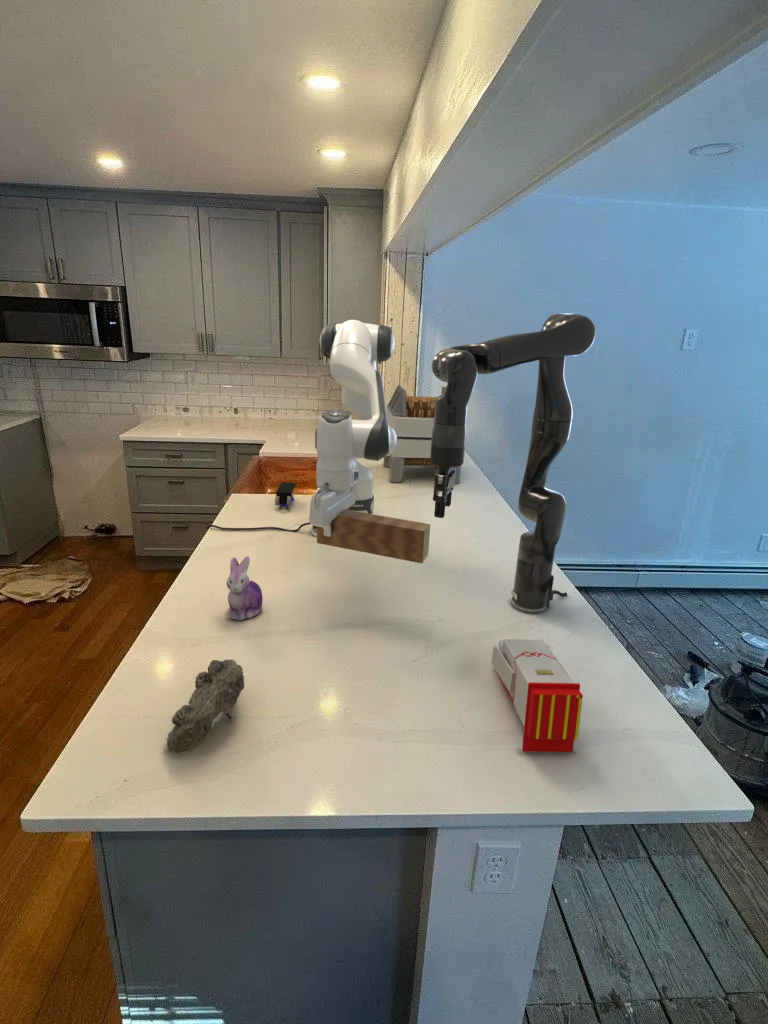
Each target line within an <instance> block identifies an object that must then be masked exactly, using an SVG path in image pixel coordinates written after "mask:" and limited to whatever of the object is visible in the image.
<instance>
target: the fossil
mask: <svg viewBox="0 0 768 1024" xmlns="http://www.w3.org/2000/svg"><path fill="white" fill-rule="evenodd" d="M243 670H244V669H243V667H242V665H240V664H237V662H236V661H235V660H234V659H232V658H231V659H227V658H226V659H224V660H223V661H222V660H217V659H212V660H211V661H210V663H209V665H208V666H207V671H201V672H199V673H198V674H197V675H196V676H195V680H194V684H195V685H194V687H195V689H194V690H193V693H192V694H191V697H190V698H189V700H188V704H184V705H182V706H181V707H180V709H177V710H176V711H175V713H174V715H173V716H172V718H171V723H172V724H173V727H172V730H171V731H170V732H168V734H167V738H166V741H167V742H166V745H167V749H168V750H169V751H173V752H174V753H176V754H178V753H182V752H188V751H189V752H192V751H193V750H195V748H196V747H197V746H199V744H200V743H201V742H203V741H204V740H205V739H206V738H207V737H208V736H209V735H210V734H211V733H212V732H214V730H215V729H217V727H218V726H219V724H220V722H221V721H222V720H223V719H224V718H225V716H226V717H227V719H229V720H233V717H232V715H230V714H229V710H230V709H231V708H234V706H235V704H236V703H237V702H238V699H239V697H240V695H241V693H242V691H243V690H245V689H244V688H245V675H244V671H243Z"/></svg>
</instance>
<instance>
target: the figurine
mask: <svg viewBox="0 0 768 1024" xmlns="http://www.w3.org/2000/svg"><path fill="white" fill-rule="evenodd" d="M250 559H251V558H250V556H248V555H246V556H245V557H244V558H243V559H242V561H240V563H239V561H238V559H237V557H235V556H234V557H231V559H230V565H229V567H230V573H229V575H228V577H227V580H226V587H227V588H228V590H229V592H228V594H227V602H228V606H229V619H232V620H235V621H243V620H245V619H251V618H254V617H255V616H256V615H258V614H260V613H261V612H262V609H263V598H264V597H263V592H262V589H261V586H260V585H259V584H258V583H257V582H255V581H253V580H250V577H249V576H248V574H247V572H248V569H249V566H250V562H251V561H250Z"/></svg>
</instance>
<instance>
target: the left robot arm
mask: <svg viewBox="0 0 768 1024" xmlns="http://www.w3.org/2000/svg"><path fill="white" fill-rule="evenodd" d="M395 340H396V339H395V335H394V333H393V330H392V329H391V327H390V326H388V325H384V324H381V323H380V324H374V323H366V322H362V321H361V320H357V319H348V320H345V321H344V322H342V323H337V322H333V323H328V324H325V326H324V327H323V328H322V330H321V332H320V335H319V347H320V350H321V354H322V355H323V356H324V357H325V358H326V359H327V360H329V371H330V372H329V373H330V375H331V376H332V378H333V379H334V381H335V382H336V383H337V384H338V385H339V386H341V403H342V405H343V407H344V408H345V409H346V410H347V411H346V410H342V409H329V410H326V411H323V412H322V413H320V414H319V417H318V423H317V427H316V428H315V433H314V448H315V450H316V454H317V460H316V461H317V462H316V466H315V467H316V468H315V469H316V472H315V473H316V475H315V476H316V477H315V479H316V480H315V481H316V483H315V484H316V487H317V489H316V490H315V493H313V494H312V496H311V499H310V505H309V506H310V507H309V522H304V523H302V524H300V525H299V527H298V528H296V529H288V528H282V527H278V526H262V527H261V526H260V527H223V526H218V525H215V524H210V525H208V526H206V528H205V529H206V530H208V529H210V528H216V529H219V530H223V531H258V530H278V531H283V532H292V533H293V532H294V533H296V532H299V531H301V528H303V527H305V526H309V525H311V526H312V528H311V530H310V533H311V536H315V537H317V526H319V527H323V529H324V536H328V537H330V536H331V535H332V534H333V528H331V525H330V524H331V522H332V520H333V519H335V518H336V516H337V515H338V514H339V513H341V512H342V511H343V510H350V511H356V512H362V513H368V514H374V513H373V512H374V509H375V496H374V474H373V472H372V471H371V469H369V468H368V467H366V466H365V465H363V464H362V463H360V462H359V461H358V459H364V460H369V461H375V462H378V461H380V460H382V459H384V457H385V456H390V455H391V454H392V453H393V452H394V450H395V449H396V446H397V435H396V433H395V431H394V430H393V428H392V427H390V426H389V425H388V423H387V414H386V412H387V405H386V397H385V390H384V383H383V378H382V376H381V373H380V371H378V367H377V363H378V365H381V364H382V363H383V362H386V361H388V360H389V359H391V357H392V355H393V353H394V350H395V346H396V341H395ZM348 411H349V412H350V413H352V414H353V415H355V416H356V417H357V418H358V419H352V415H351V414H350V413H349V412H348Z"/></svg>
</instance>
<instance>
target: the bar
mask: <svg viewBox="0 0 768 1024" xmlns="http://www.w3.org/2000/svg"><path fill="white" fill-rule="evenodd" d="M330 525H331V528H333V534H332V535H331V536H330V537H328V536H324V529H323V527H319V526H317V536H316V544H319V545H324V546H329V547H330V546H331V547H335V548H340V549H345V550H350V551H355V552H361V553H366V554H371V555H375V556H376V555H377V556H381V557H386V558H391V559H396V560H402V561H407V562H412V563H417V564H423V563H424V562H425V560H426V559H427V558H428V557H429V550H430V549H429V548H430V535H431V524H430V523H426V522H419V521H414V520H408V519H402V518H396V517H391V516H385V515H380V514H379V515H378V514H374V513H373V514H368V513H362V512H356V511H350V510H343V511H342V512H341V513H339V514H338V515H337V516H336V518H335V519H333V520H332V522H331V524H330Z"/></svg>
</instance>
